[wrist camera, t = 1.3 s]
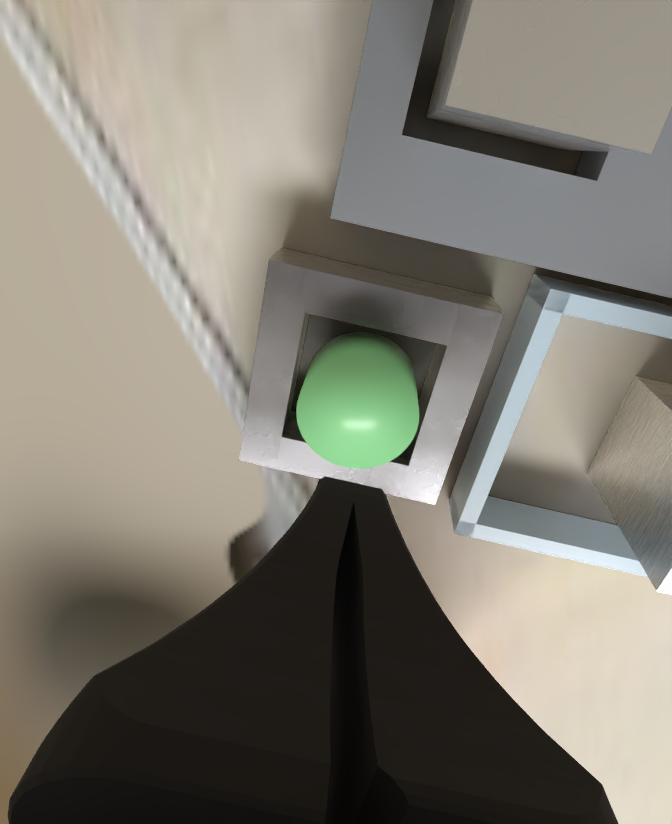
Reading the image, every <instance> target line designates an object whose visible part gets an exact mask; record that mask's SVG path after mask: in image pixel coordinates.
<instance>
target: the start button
mask: <svg viewBox="0 0 672 824" xmlns="http://www.w3.org/2000/svg"><path fill="white" fill-rule="evenodd" d="M296 417H297V423H298V427H299V430H300V432H301V434H302V436H303V438H304V440H305V441H306V443H307V444H308V445H309V446H310V448H311V449H312V450H313V451H314V452H315V453H317V454H318V455H319V456H321V457H322V458H323V459H325V460H327V461H329V462H331V463H333V464H336V465H339V466H342V467H347V468H355V469H364V468H372V467H376V466H380V465H383V464H385V463H388V462H390V461H391V460H393V459H395V458H396V457H398V456H399V455H400V454H401V453H402V452H403V451H404V450H405V449H406V448H407V447H408V446H409V445H410V443H411V442H412V440H413V438H414V436H415V434H416V431H417V428H418V424H419V405H418V396H417V387H416V377H415V372H414V368H413V366H412V363H411V361H410V359H409V357H408V356H407V355H406V353H405V352H404V351H403V350H402V349H401V348H400V347H399V346H398V345H397V344H396V343H394V342H393V341H391V340H390V339H388V338H386V337H384V336H381V335H378V334H375V333H369V332H351V333H347V334H343V335H340V336H338V337H336V338H334V339H332V340H330V341H329V342H327V343H326V344H325V345H324V346H322V347H321V348H320V349H319V351H318V352H317V353H316V355H315V356H314V358H313V359H312V362H311V364H310V366H309V369H308V372H307V375H306V378H305V380H304V383H303V386H302V389H301V392H300V395H299V398H298V401H297V408H296Z"/></svg>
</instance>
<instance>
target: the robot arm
mask: <svg viewBox="0 0 672 824" xmlns="http://www.w3.org/2000/svg"><path fill="white" fill-rule="evenodd" d="M8 820H9V824H618V822H617V819H616V817H615V815H614V812H613V810H612V808H611V805H610V803H609V801H608V798H607V796H606V793H605V791H604V788H603V786H602V784H601V783H600V782H599V781H598V780H597V779H596V778H594V777H593V776H592V775H591V774H590V773H589V772H588V771H587V770H586V769H585V768H583V767H582V766H581V765H580V764H579V763H578V762H577V761H576V760H575V759H574V758H573V757H571V756H570V755H569V754H568V753H567V752H566V751H565V750H564V749H563V748H562V747H561V746H559V745H558V744H557V743H556V742H555V741H554V740H553V739H552V738H551V737H550V736H549V735H547V734H546V733H545V732H544V731H543V730H542V729H541V728H540V727H539V726H538V725H537V724H536V723H535V722H534V720H533V719H532V718H531V717H530V716H529V715H528V714H527V713H526V712H525V711H524V710H523V709H522V708H521V707H520V706H519V705H518V704H517V703H516V702H515V701H514V700H513V699H512V698H511V697H510V695H509V694H508V693H507V692H506V691H505V690H504V689H503V688H502V687H501V685H500V684H499V683H498V682H497V681H496V680H495V679H494V677H493V676H492V675H491V674H490V673H489V671H488V670H487V669H486V668H485V667H484V665H483V664H482V663H481V662H480V661H479V659H478V658H477V657H476V656H475V655H474V653H473V652H472V651H471V650H470V648H469V647H468V646H467V645H466V643H465V642H464V641H463V639H462V638H461V637H460V635H459V634H458V633H457V631H456V630H455V628H454V627H453V625H452V624H451V623H450V621H449V620H448V618H447V617H446V615H445V614H444V612H443V611H442V609H441V607H440V606H439V604H438V603H437V601H436V599H435V598H434V596H433V594H432V593H431V591H430V589H429V588H428V586H427V584H426V582H425V581H424V579H423V577H422V575H421V573H420V572H419V570H418V568H417V566H416V564H415V562H414V560H413V558H412V556H411V554H410V552H409V550H408V548H407V546H406V544H405V542H404V539H403V537H402V535H401V533H400V531H399V528H398V526H397V523H396V521H395V519H394V516H393V514H392V511H391V509H390V506H389V503H388V500H387V497H386V495H385V493H384V491H383V490H382V489H380V488H375V487H371V486H366V485H362V484H358V483H353V482H349V481H344V480H340V479H335V478H331V477H327V476H325V477H323V478H321V479H319V481H318V485H317V487H316V489H315V491H314V493H313V495H312V497H311V499H310V500H309V502H308V503H307V505H306V506H305V508H304V510H303V511H302V512H301V514H300V515H299V516H298V518H297V519H296V520H295V522H294V523H293V524H292V526H291V527H290V528H289V530H288V531H287V532H286V533H285V534H284V536H283V537H282V538H281V539H280V540H279V541H278V542H277V543H276V545H275V546H274V547H273V548H272V549H271V550H270V551H269V552H268V554H267V555H266V556H265V557H264V558H263V559H262V560H261V561H260V562H259V563H258V564H257V565H256V566H255V567H254V568H253V569H252V570H251V571H249V572H248V573H247V574H246V575H245V576H244V577H243V578H242V579H241V580H240V581H238V582H237V583H236V584H235V585H234V586H233V587H232V588H230V589H229V590H228V591H227V592H225V593H224V594H223V595H222V596H220V597H219V598H218V599H217V600H215V601H214V602H213V603H212V604H210V605H209V606H208V607H206V608H205V609H204V610H202V611H201V612H200V613H198V614H197V615H195V616H194V617H193V618H191V619H189V620H188V621H186V622H185V623H183V624H182V625H181V626H179V627H178V628H176V629H175V630H173V631H171V632H170V633H169V634H167V635H165V636H164V637H162V638H161V639H159V640H158V641H156V642H155V643H153V644H151V645H150V646H148V647H146V648H144V649H142V650H141V651H139V652H137V653H135V654H133V655H132V656H130V657H128V658H126V659H124V660H122V661H121V662H119V663H117V664H115V665H113V666H111V667H110V668H108V669H106V670H104V671H102V672H100V673H98V674H96V675H95V676H93V678H92V679H91V680H90V681H89V682H88V683H87V684H86V686H85V687H84V688H83V689H82V690H81V692H80V693H79V694H78V695H77V696H76V697H75V699H74V700H73V701H72V702H71V704H70V705H69V707H68V708H67V709H66V710H65V711H64V713H63V714H62V715H61V717H60V718H59V719H58V721H57V722H56V724H55V725H54V726H53V728H52V729H51V730H50V732H49V733H48V735H47V736H46V737H45V739H44V741H43V742H42V744H41V745H40V747H39V748H38V750H37V752H36V754H35V755H34V757H33V759H32V761H31V762H30V764H29V766H28V768H27V769H26V771H25V773H24V775H23V776H22V778H21V780H20V782H19V784H18V785H17V787H16V789H15V791H14V792H13V794H12V796H11V798H10V802H9V810H8Z"/></svg>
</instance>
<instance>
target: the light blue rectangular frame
mask: <svg viewBox="0 0 672 824" xmlns="http://www.w3.org/2000/svg"><path fill="white" fill-rule="evenodd" d="M562 314H566V315H570V316H575V317H579V318H583V319H588V320H592V321H596V322H601V323H605V324H609V325H613V326H618V327H622V328H626V329H631V330H635V331H639V332H643V333H648V334H652V335H656V336H661V337H665V338H669V339H672V306H671V305H667V304H662V303H658V302H654V301H649V300H645V299H641V298H637V297H632V296H628V295H624V294H620V293H615V292H611V291H607V290H602V289H598V288H594V287H590V286H585V285H581V284H577V283H572V282H568V281H564V280H560V279H555V278H551V277H547V276H542V275H538V274H534V275H533V277H532V280H531V283H530V285H529V288H528V291H527V293H526V296H525V299H524V301H523V304H522V307H521V309H520V312H519V315H518V318H517V320H516V323H515V326H514V328H513V331H512V334H511V336H510V339H509V342H508V344H507V347H506V350H505V352H504V355H503V358H502V360H501V363H500V366H499V368H498V371H497V374H496V376H495V379H494V382H493V384H492V387H491V390H490V392H489V395H488V398H487V400H486V403H485V406H484V408H483V411H482V414H481V416H480V419H479V422H478V424H477V427H476V430H475V432H474V435H473V438H472V440H471V443H470V446H469V448H468V451H467V454H466V456H465V459H464V462H463V464H462V467H461V470H460V472H459V475H458V478H457V480H456V483H455V486H454V488H453V491H452V494H451V496H450V499H449V504H450V510H451V516H452V523H453V529H454V533H455V534H459V535H464V536H468V537H472V538H477V539H481V540H486V541H490V542H494V543H499V544H503V545H508V546H512V547H517V548H521V549H525V550H530V551H534V552H539V553H543V554H548V555H552V556H556V557H561V558H565V559H570V560H574V561H578V562H583V563H587V564H592V565H596V566H601V567H605V568H609V569H614V570H618V571H623V572H627V573H632V574H636V575H640V576H645V577H648V576H647V574H646V572H645V571H644V569H643V567H642V565H641V564H640V562H639V560H638V559H637V557H636V555H635V554H634V552H633V550H632V549H631V547H630V545H629V543H628V542H627V540H626V538H625V537H624V535H623V533H622V532H621V530H620V528H619V527H618V525H613V524H609V523H605V522H600V521H596V520H591V519H587V518H583V517H578V516H574V515H569V514H565V513H561V512H556V511H552V510H547V509H543V508H539V507H534V506H530V505H526V504H521V503H517V502H512V501H508V500H504V499H499V498H495V497H490V496H488V494H489V491H490V489H491V486H492V484H493V482H494V479H495V477H496V474H497V472H498V470H499V467H500V465H501V462H502V460H503V457H504V455H505V453H506V450H507V448H508V445H509V443H510V440H511V438H512V436H513V433H514V431H515V428H516V426H517V424H518V421H519V419H520V416H521V414H522V411H523V409H524V407H525V404H526V402H527V399H528V397H529V394H530V392H531V390H532V387H533V385H534V382H535V380H536V377H537V375H538V373H539V370H540V368H541V365H542V363H543V361H544V358H545V356H546V353H547V351H548V348H549V346H550V344H551V341H552V339H553V336H554V334H555V331H556V329H557V327H558V324H559V322H560V319H561V317H562Z"/></svg>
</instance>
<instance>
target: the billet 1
mask: <svg viewBox="0 0 672 824" xmlns="http://www.w3.org/2000/svg"><path fill="white" fill-rule="evenodd" d="M671 107H672V0H456V1H455V5H454V9H453V13H452V17H451V21H450V25H449V29H448V33H447V37H446V41H445V45H444V49H443V53H442V57H441V61H440V65H439V69H438V73H437V77H436V81H435V85H434V89H433V93H432V97H431V101H430V105H429V109H428V113H427V118H431V119H435V120H440V121H444V122H448V123H452V124H457V125H461V126H465V127H469V128H473V129H478V130H482V131H486V132H490V133H494V134H499V135H503V136H507V137H511V138H516V139H520V140H524V141H528V142H532V143H537V144H541V145H545V146H549V147H553V148H558V149H562V150H581V151H601V152H621V153H641V154H651V153H652V151H653V149H654V146H655V144H656V142H657V139H658V137H659V135H660V132H661V130H662V128H663V126H664V123H665V121H666V119H667V116H668V114H669V112H670V109H671Z"/></svg>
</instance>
